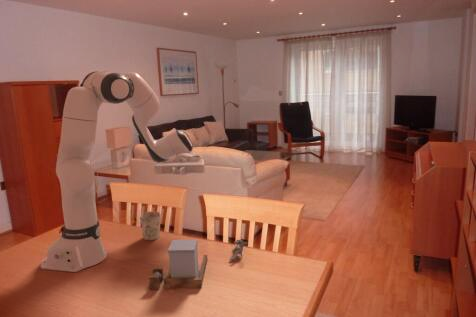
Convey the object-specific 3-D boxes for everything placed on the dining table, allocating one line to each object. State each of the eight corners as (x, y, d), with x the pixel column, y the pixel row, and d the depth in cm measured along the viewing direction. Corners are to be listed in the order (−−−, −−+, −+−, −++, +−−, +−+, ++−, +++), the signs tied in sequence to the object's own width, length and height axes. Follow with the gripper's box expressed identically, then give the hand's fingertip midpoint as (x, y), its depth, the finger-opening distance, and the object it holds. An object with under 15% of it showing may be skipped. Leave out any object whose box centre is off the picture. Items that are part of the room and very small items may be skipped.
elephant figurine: (219, 259, 131) (230, 241, 138) (231, 269, 132) (241, 251, 138) (233, 250, 125) (243, 232, 131) (245, 261, 125) (255, 243, 132)
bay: (149, 289, 113) (148, 277, 112) (163, 260, 131) (162, 249, 130) (201, 289, 112) (200, 276, 111) (207, 259, 130) (206, 248, 129)
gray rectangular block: (170, 285, 114) (167, 250, 112) (175, 273, 122) (172, 239, 119) (196, 285, 114) (194, 249, 111) (199, 272, 121) (197, 239, 119)
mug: (164, 233, 154) (162, 211, 152) (155, 246, 142) (153, 223, 140) (145, 232, 155) (144, 211, 153) (135, 246, 143) (132, 222, 141)
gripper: (157, 157, 150) (149, 165, 136) (206, 156, 149) (202, 163, 136) (159, 171, 151) (150, 180, 138) (207, 170, 151) (203, 179, 137)
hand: (176, 172), depth 137 cm, fingers closed
